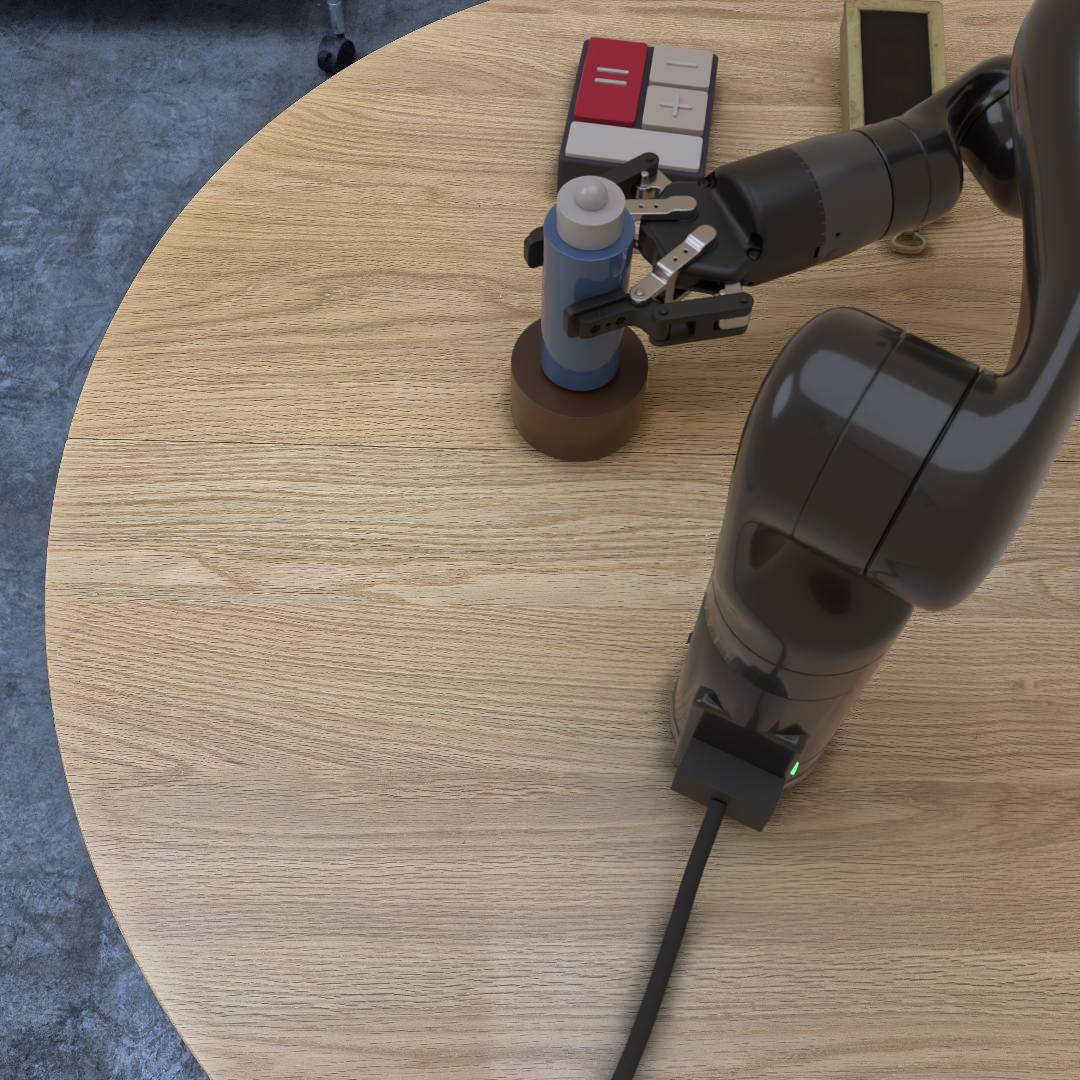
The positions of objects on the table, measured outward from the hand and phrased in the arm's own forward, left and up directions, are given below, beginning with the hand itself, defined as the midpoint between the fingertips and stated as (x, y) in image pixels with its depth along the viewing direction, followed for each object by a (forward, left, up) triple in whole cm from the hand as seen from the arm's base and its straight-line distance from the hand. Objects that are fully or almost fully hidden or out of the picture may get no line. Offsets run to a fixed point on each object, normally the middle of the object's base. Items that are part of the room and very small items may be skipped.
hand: (546, 287), depth 71 cm
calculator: (+28, +5, -13) cm, 32 cm away
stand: (+2, -2, -13) cm, 14 cm away
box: (+36, -13, -13) cm, 41 cm away
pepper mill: (+2, -2, -8) cm, 8 cm away
